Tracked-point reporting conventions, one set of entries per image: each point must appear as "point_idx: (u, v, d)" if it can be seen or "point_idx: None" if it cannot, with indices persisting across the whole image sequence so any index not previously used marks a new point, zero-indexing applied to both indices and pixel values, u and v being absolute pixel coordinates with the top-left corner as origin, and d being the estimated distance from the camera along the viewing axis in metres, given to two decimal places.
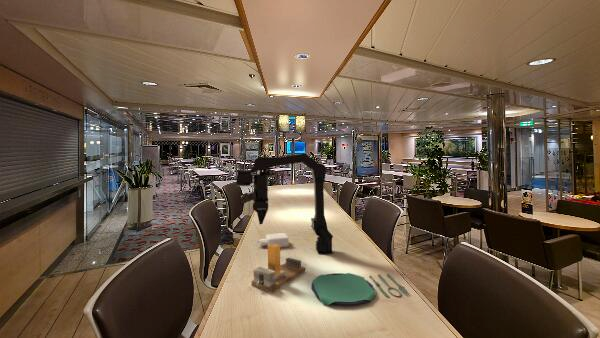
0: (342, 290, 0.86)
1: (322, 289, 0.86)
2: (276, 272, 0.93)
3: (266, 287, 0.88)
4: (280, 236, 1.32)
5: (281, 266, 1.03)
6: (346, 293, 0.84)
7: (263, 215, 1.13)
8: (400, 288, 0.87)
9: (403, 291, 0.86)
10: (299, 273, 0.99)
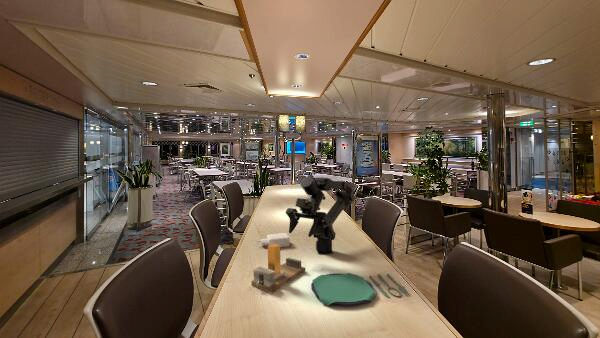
0: (342, 290, 0.86)
1: (322, 289, 0.86)
2: (276, 272, 0.93)
3: (266, 287, 0.88)
4: (281, 236, 1.32)
5: (281, 266, 1.03)
6: (346, 293, 0.84)
7: (316, 229, 1.06)
8: (400, 288, 0.87)
9: (403, 291, 0.86)
10: (299, 273, 0.99)
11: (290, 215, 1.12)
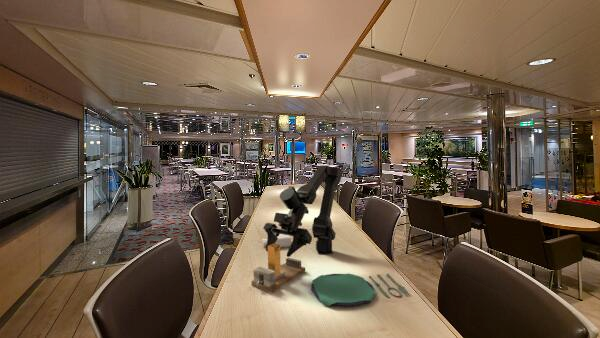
0: (342, 290, 0.85)
1: (322, 290, 0.86)
2: (276, 272, 0.93)
3: (266, 287, 0.88)
4: (283, 236, 1.32)
5: (281, 266, 1.03)
6: (346, 294, 0.83)
7: (296, 248, 0.95)
8: (400, 288, 0.87)
9: (403, 291, 0.86)
10: (299, 273, 0.99)
11: (268, 231, 1.00)
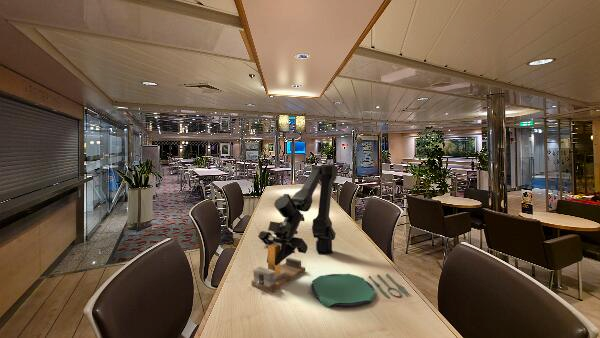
0: (342, 291, 0.85)
1: (322, 290, 0.85)
2: (276, 272, 0.93)
3: (266, 287, 0.88)
4: None
5: (281, 266, 1.03)
6: (346, 294, 0.83)
7: (284, 256, 0.94)
8: (400, 288, 0.87)
9: (403, 291, 0.86)
10: (299, 273, 0.99)
11: (269, 241, 0.97)
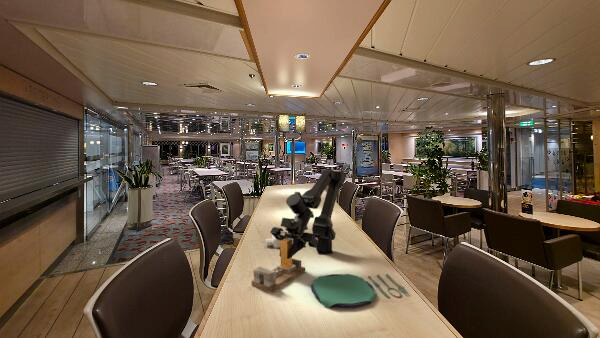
0: (342, 291, 0.85)
1: (322, 291, 0.85)
2: (288, 265, 0.98)
3: (266, 287, 0.88)
4: None
5: None
6: (346, 294, 0.83)
7: (296, 250, 1.00)
8: (400, 288, 0.87)
9: (403, 291, 0.86)
10: (299, 273, 0.99)
11: (281, 236, 1.02)
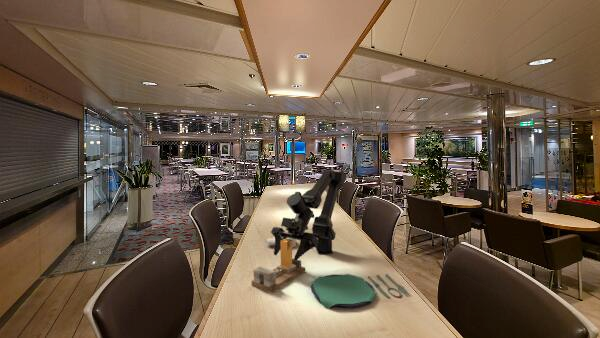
0: (343, 291, 0.85)
1: (322, 291, 0.85)
2: (288, 265, 0.98)
3: (266, 287, 0.88)
4: None
5: None
6: (347, 295, 0.83)
7: (303, 252, 0.98)
8: (400, 288, 0.87)
9: (403, 291, 0.86)
10: (299, 273, 0.99)
11: (276, 235, 1.04)
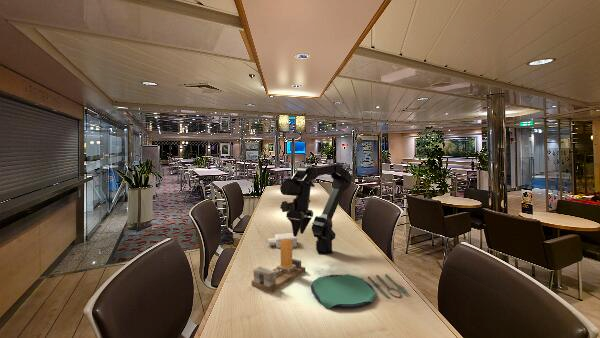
0: (343, 292, 0.84)
1: (322, 291, 0.84)
2: (288, 265, 0.98)
3: (266, 287, 0.88)
4: (288, 236, 1.32)
5: None
6: (347, 295, 0.83)
7: (297, 227, 1.06)
8: (400, 288, 0.87)
9: (403, 291, 0.86)
10: (299, 273, 0.99)
11: None
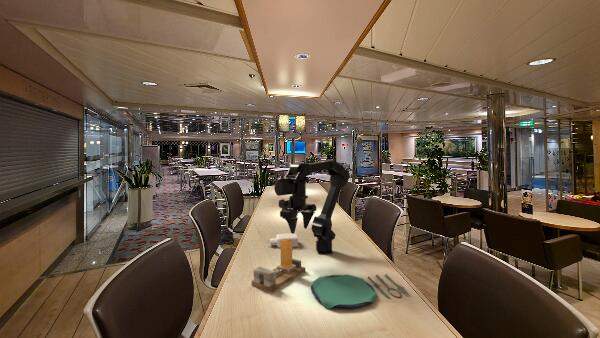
0: (343, 292, 0.84)
1: (322, 292, 0.84)
2: (288, 265, 0.98)
3: (266, 287, 0.88)
4: (290, 236, 1.32)
5: None
6: (347, 295, 0.82)
7: (293, 224, 1.08)
8: (399, 288, 0.87)
9: (403, 291, 0.86)
10: (299, 273, 0.99)
11: None
